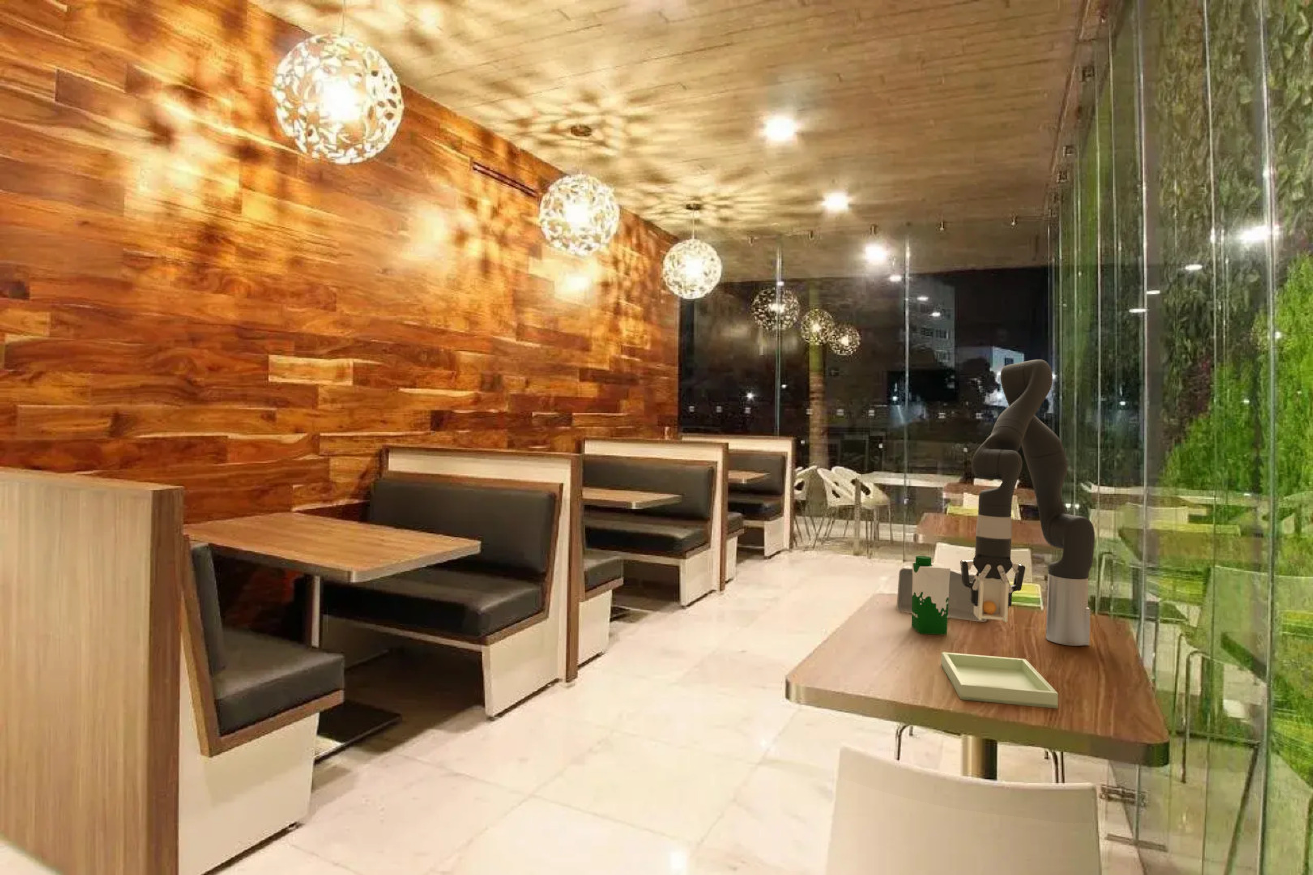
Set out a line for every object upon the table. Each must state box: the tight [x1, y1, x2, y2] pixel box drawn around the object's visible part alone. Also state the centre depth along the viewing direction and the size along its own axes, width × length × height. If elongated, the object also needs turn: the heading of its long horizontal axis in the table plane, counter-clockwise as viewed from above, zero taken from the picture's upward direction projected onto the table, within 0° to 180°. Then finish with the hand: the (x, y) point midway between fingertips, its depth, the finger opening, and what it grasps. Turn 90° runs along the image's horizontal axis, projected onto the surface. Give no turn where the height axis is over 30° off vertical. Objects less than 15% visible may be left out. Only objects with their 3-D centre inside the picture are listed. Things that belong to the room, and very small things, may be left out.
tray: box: [940, 651, 1059, 709], centre depth 157 cm, size 18×22×3 cm
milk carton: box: [911, 555, 951, 636], centre depth 199 cm, size 9×9×20 cm
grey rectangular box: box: [896, 565, 988, 623], centre depth 222 cm, size 25×16×12 cm, turn 65°
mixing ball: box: [982, 601, 996, 614], centre depth 171 cm, size 3×3×3 cm
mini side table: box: [974, 578, 1010, 623], centre depth 171 cm, size 6×6×9 cm
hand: (990, 606), depth 171 cm, fingers closed on mini side table, 6 cm apart
